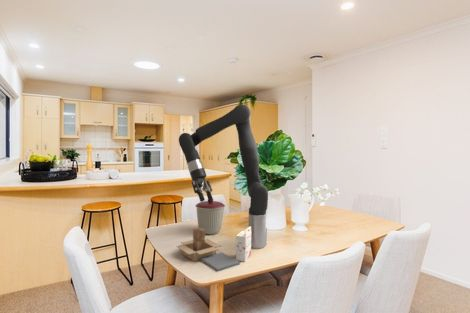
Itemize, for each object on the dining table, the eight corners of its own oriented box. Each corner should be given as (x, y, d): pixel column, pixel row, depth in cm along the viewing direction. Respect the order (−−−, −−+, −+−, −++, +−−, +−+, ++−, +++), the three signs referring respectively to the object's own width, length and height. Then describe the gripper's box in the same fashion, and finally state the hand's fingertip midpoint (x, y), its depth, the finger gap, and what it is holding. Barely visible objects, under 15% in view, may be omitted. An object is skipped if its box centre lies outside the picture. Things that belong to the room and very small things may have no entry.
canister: (188, 233, 163) (189, 198, 162) (205, 225, 179) (206, 194, 178) (214, 239, 155) (215, 202, 154) (230, 230, 171) (230, 197, 170)
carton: (204, 244, 146) (204, 237, 146) (224, 255, 132) (224, 247, 132) (173, 252, 135) (173, 244, 134) (191, 265, 120) (191, 256, 120)
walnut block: (200, 251, 136) (200, 227, 135) (204, 254, 133) (204, 230, 132) (193, 253, 133) (193, 229, 133) (197, 256, 130) (197, 231, 130)
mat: (221, 254, 134) (221, 252, 134) (239, 264, 123) (239, 262, 123) (200, 260, 126) (200, 257, 126) (217, 271, 115) (217, 269, 115)
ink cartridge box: (241, 253, 135) (242, 224, 134) (251, 255, 133) (251, 225, 132) (235, 260, 127) (235, 229, 126) (245, 262, 125) (246, 230, 124)
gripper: (195, 166, 130) (206, 198, 126) (209, 168, 143) (219, 197, 139) (183, 172, 132) (193, 204, 128) (197, 173, 145) (207, 202, 141)
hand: (207, 200), depth 134 cm, fingers open, 8 cm apart
